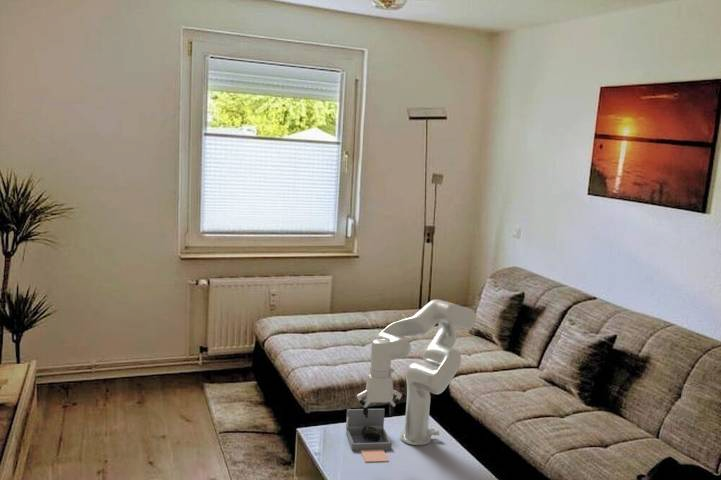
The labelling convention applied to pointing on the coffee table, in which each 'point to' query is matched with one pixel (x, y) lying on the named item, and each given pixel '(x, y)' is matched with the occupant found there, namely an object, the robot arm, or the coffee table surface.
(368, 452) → the mat
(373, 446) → the case
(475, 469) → the coffee table surface
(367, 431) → the tape measure
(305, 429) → the coffee table surface
